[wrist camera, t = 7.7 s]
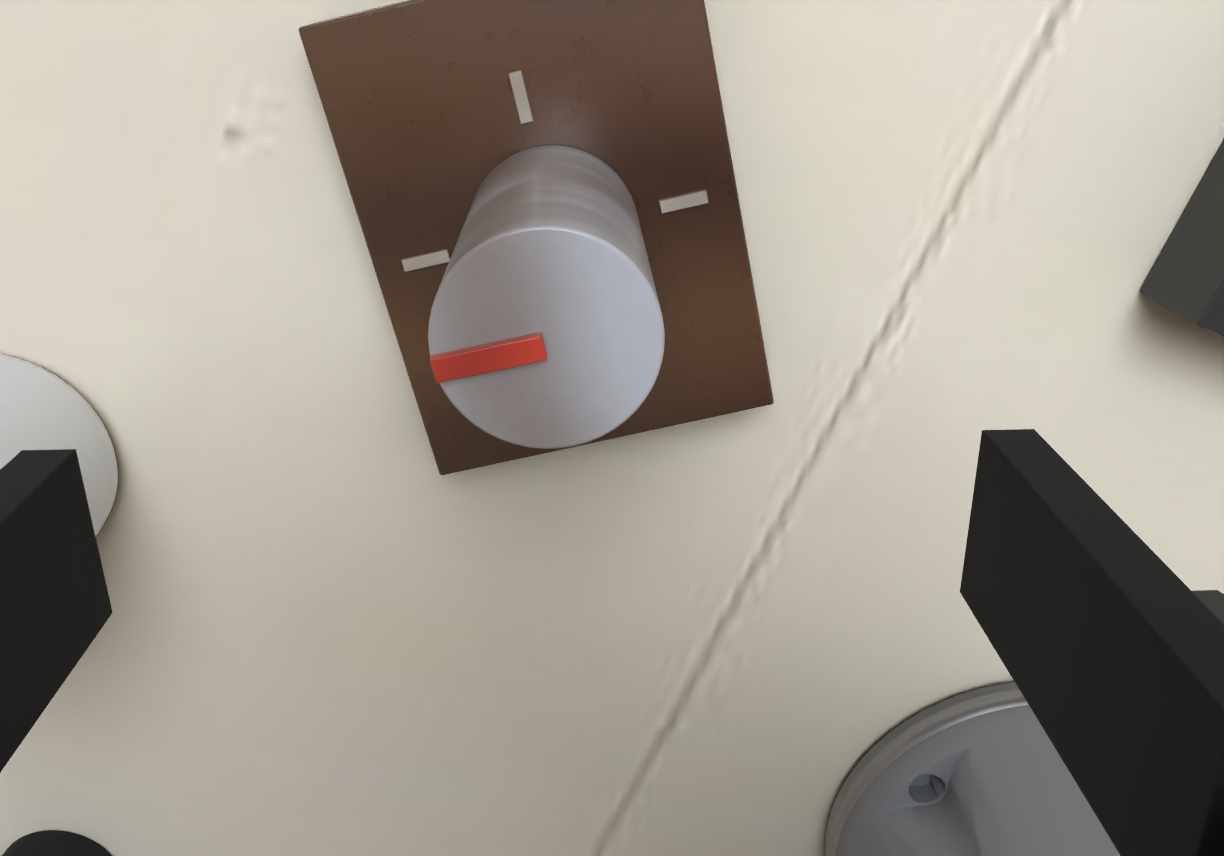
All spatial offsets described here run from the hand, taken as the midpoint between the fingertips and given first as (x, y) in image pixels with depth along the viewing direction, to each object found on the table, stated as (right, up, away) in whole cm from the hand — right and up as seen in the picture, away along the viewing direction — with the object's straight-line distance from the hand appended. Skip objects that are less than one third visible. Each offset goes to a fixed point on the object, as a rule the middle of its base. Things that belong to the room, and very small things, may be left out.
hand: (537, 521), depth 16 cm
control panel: (-1, +8, +18) cm, 20 cm away
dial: (-1, +7, +16) cm, 18 cm away
